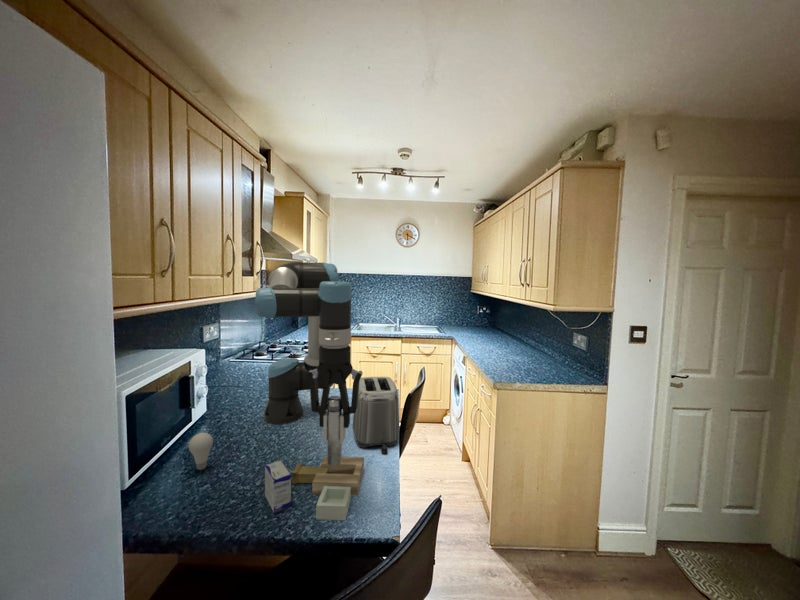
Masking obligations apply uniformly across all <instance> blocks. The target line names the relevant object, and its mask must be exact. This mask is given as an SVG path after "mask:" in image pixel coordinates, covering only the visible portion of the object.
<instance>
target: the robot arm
mask: <svg viewBox="0 0 800 600" xmlns="http://www.w3.org/2000/svg"><path fill="white" fill-rule="evenodd" d="M268 284H269V286H268V287H260V288H258V289H256V291H255V297H254V298H255V299H254V300H255V301H254V302H255V303H254V304H255V305H254V306H255V313H256V315H257V316H258V317H259V318H269V319H274V318H296V317H297V318H298V317H301V318H304V317H306V318H307V317H308V318H307V319H308V322H307V323H308V324H307V325H308V327H307V329H308V330H307V331H308V333H307V334H308V335H307V336H308V337H307V355H305V356H304V359H303V361H300V360H299V358H296V357H293V358H292V357H289V358H284V359H279V360H276V361H274V362H272V363H270V364H269V367H268V374H267V378H268V400H267V403H266V406H265V410H264V411H263V412H264V413H263V420H264V421H265V422H266V423H268V424H271V425H284V424H289V423H293V422H295V421H298V420H299V419H301V418H302V417H303V415H304V408H303V405H302V403H301V400H300V396H299V392H300V391H308V390H309V392H310V393H309V394H310V406H311V407H310V408H311V412H312V413H317V414H318V416H319V422H318V423H319V424H318V425H319V428H323V435H322V436H323V438H322V439H323V441H322V442H323V443H328V411H327V403H328V398H329V397H330V391H331V388H332V387H333V385H334V384H335V385H337V387H338V391H339V395H340V397H341V403H342V414H341V416H340V443H344V442H345V438H346V429H348V428H349V426H350V422H351V420H350V419H351V418H350V417H351V414H354V413H355V412H356V410H357V406H358V393H359V381H360V378H362V376H363V371H362V370H359V371H358V370H356V369H354V367H353V365H352V363H351V362H352V361H351V358H352V357H351V355H352V354H351V351H352V348H351V345H350V344H351V343H352V327H351V326H352V324H351V322H352V297H353V295H352V285H351V283H350V282H348V281H340V278H339V272H338V268H337V266H336V265H335V264H334V263H326V262H310V261H309V262H308V261H307V262H305V261H304V262H303V261H302V262H301V261H300V262H299V261H294V262H287V263H284V264H281V265H279V266H277V267H275V268H274V269H273V270H271V272H270V274H269V277H268ZM350 375H351V378H352V380H353V382H352V390H351V391H352V392H351V403H350V400H349V395H348V394H349V393H348V388H347V379H348V377H349V376H350ZM319 389H320V390H322V393H321V398H319ZM350 405H351V406H350Z"/></svg>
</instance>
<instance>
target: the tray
mask: <svg viewBox="0 0 800 600" xmlns="http://www.w3.org/2000/svg"><path fill="white" fill-rule="evenodd" d="M351 500H352V496H351V487H338V486H324V487H323V490H322V492H321V495H319V497H318V500H317V503H316V506H315V511H316V512H315V513H316V514H315V519H316V520H321V521H322V520H323V521H324V520H326V521H327V520H328V521H346V520H347V515H348V512H349V508H350V504H351Z"/></svg>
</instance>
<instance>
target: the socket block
mask: <svg viewBox="0 0 800 600" xmlns="http://www.w3.org/2000/svg"><path fill="white" fill-rule="evenodd" d="M364 460H365V459H364V457H359V456H358V457H357V456H354V457H353V456H342V460H341V463H340V464H339V465H336V466H330V465H328V463H327V455H324V457H323V459H322V461H321V462H320V467H329V474H324V473H316V475H315V478H314V480H313V482H312V483H311V486H312V489H311V490H312V495H313V496H314V495H316V496H317V495H319V496H320V495H321V492H322V490H323V487H324V486H338V487H351V497H352V496H353V497H358V495H359V489H360V486H361V482H362V478H363V473H364V468H365V466H364V465H365V464H364V462H365V461H364Z"/></svg>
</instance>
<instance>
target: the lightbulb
mask: <svg viewBox="0 0 800 600" xmlns="http://www.w3.org/2000/svg"><path fill="white" fill-rule="evenodd" d="M213 444H214V438H213V436H212V435H211V434H209V433H208V432H199V433H197V434H195V435H194V436H192V438H191V439H190V441H189V443H188V449H189V452H190V454H191V455H192V456H193V458H194V463H195V466H196V470H198V471H203V470H204V469H206V468H207V464H208V458H209V453H210V451H211V449H212V447H213Z"/></svg>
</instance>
